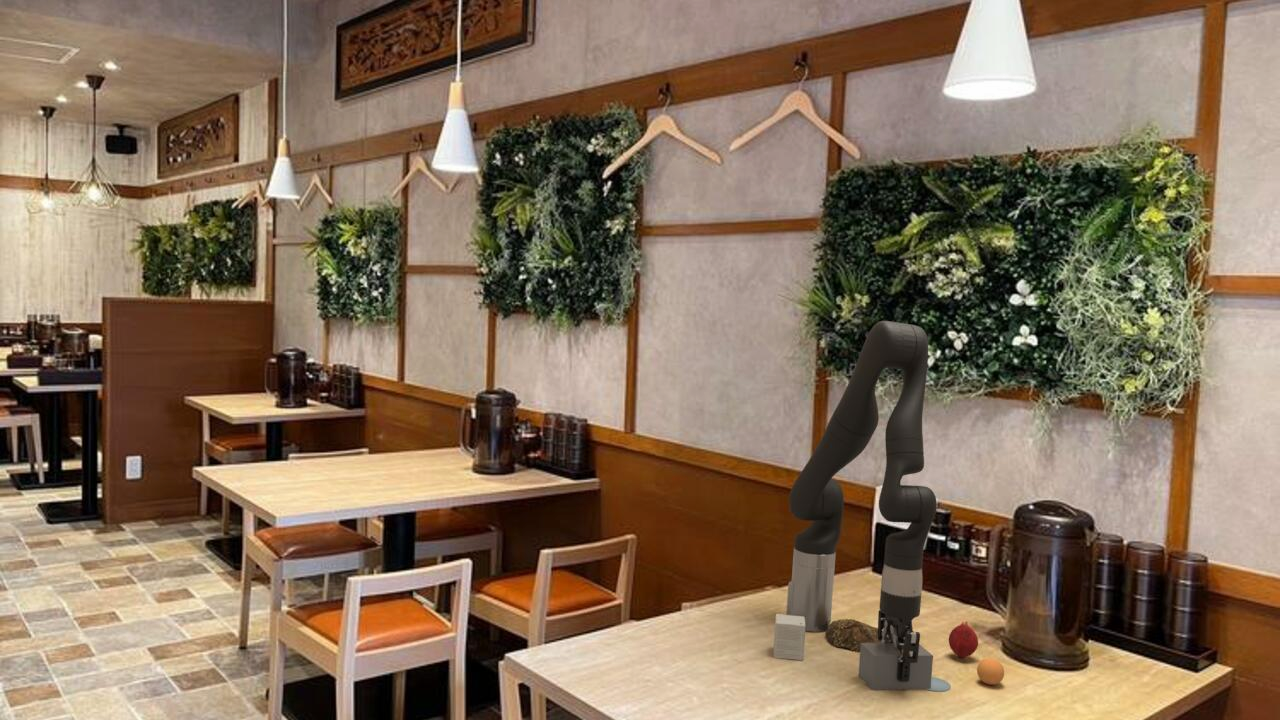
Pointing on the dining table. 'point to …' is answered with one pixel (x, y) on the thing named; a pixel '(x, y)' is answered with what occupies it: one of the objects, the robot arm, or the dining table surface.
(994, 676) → the ball
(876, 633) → the bread roll
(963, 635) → the onion
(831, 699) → the dining table surface
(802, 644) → the product box
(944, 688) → the spot
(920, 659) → the gray rectangular prism
